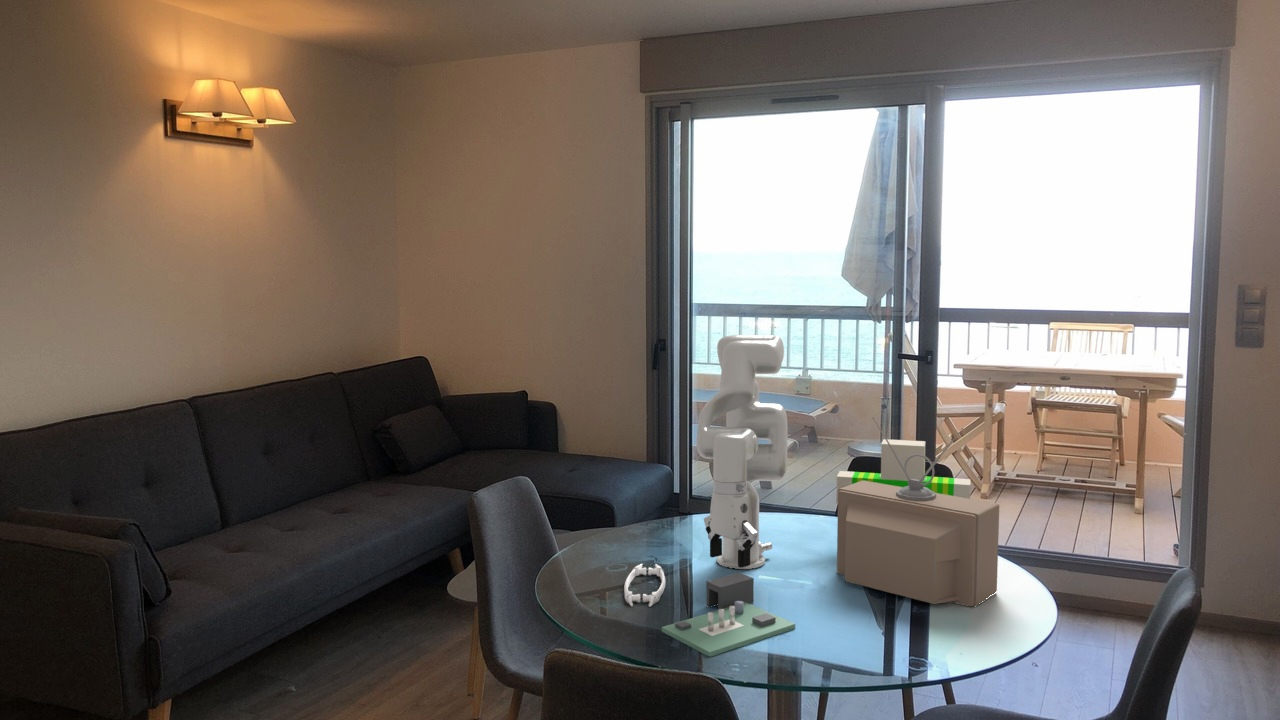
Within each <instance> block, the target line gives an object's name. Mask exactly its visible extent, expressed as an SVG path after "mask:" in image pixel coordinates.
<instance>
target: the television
mask: <svg viewBox="0 0 1280 720" xmlns="http://www.w3.org/2000/svg"><path fill="white" fill-rule="evenodd" d="M872 419H873V420H874V423H875V424H876V426H877V428H878V429H879V431H880V433H881V434H882V436H883V438H884V439H885V440H886V441H887V443H888V444H889V446H890V448H891V450H892V452H893V454H894V456H895V457H896V459H897V461H898V462H899V464H900V466H901V468H902V469H903V471H904V473H905V475H906V478H907V479H908V485H909V486H906V487H898V486H892V485H887V484H881V483H875V482H869V481H860V482H857V483H854V484H851V485H849V486H846V487H843V488H840V489H838V504H837V528H836V529H837V531H836V532H837V533H836V534H837V541H836V542H837V543H836V544H837V545H836V547H837V548H836V549H837V550H836V551H837V552H836V553H837V555H836V573H837V574H839V575H843V576H844V581H845V582H846V583H851V584H855V585H859V586H864V587H867V588H871V589H875V590H877V591H878V590H879V591H883V592H886V593H890V594H894V595H898V596H902V597H905V598H909V599H912V600H916V601H921V602H925V603H928V604H933V605H937V604H944V603H954V604H957V603H958V604H959V605H961V604H963V605H962V606H965V605H966V607H969V606H977V605H978V604H979V603H981V602H982V601H984V600H986V598H988V597H989V596H990V595H992V594H994V593H995V592H996V591H997V592H998V589H997V587H998V566H999V562H998V561H999V559H998V558H999V533H1000V531H999V529H1000V528H999V527H1000V504H999V503H995V502H990V501H984V500H980V499H979V500H978V499H972V498H970V499H968V498H962V497H956V496H950V495H945V494H939V493H935V492H933V491H931V490H930V489H928V488H926V487H923V486H925V485H928V484H929V483H930V482H931V481H932V480H933V478H934V477H935V467H934V466H935V465H936V464H937V463H938V461H939V460H940V459H941V457H942V456H943V454H944V453H945V452H946V451H947V450H948V449H949V447H950V446H951V445H952V443H953V442H954V441H955V440H956V438H957V437H958V436H959V435H960V433H961V432H962V431H963V430H964V428H963V427H962V428H961V429H960V431H959V432H958V433H957V434H956V435H955V436H954V437H953V438H952V439H951V440H950V442H948V445H947V446H946V447H945V448H944V449H943V450H942V452H941V453H940V454H939V455H938V456H937V457H936V458H935V460H934V461H933V462H932V461H931V459H930V458H929V457H927V456H926V455H925V456H924V455H921V454H914V455H911V456H910V457H909V458H907V460H906V462H905V464H904V466H903V465H902V463H901V461H900V459H899V458H898V456H897V454H896V452H895V451H894V449H893V448H892V447H891V445H890V443H889V442H888V440H887V439H888V438H887V437H886V435H885V433H884V432H883V431H882V428H881V427H880V426H879V424H878V423H877V422H876V420H875V417H874V416H873V417H872ZM915 456H920V457H923V458H925V461H927V462H928V463H929V464H930V466H929V468H928V469H927V470H925V474H924V475H923V477H922V478H921V479H920V480H916V479H911V478H910V477H909V475H908V473H907V471H906V465H907V462H908V461H909V460H910V459H911V458H912V457H915ZM931 471H932V472H931ZM930 472H931V476H930V477H931V479H930V480H929V481H928V482H927V483H925V484H923V483H922V481H923V479H924V478H925V477H926V476H928V475H929V473H930ZM986 601H987V600H986ZM984 602H985V601H984ZM958 604H957V605H958ZM981 604H982V603H981ZM978 606H979V605H978ZM978 606H977V607H978Z"/></svg>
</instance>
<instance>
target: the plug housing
mask: <svg viewBox="0 0 1280 720" xmlns="http://www.w3.org/2000/svg"><path fill="white" fill-rule="evenodd" d="M705 585H706V590H705V591H706V593H705V595H706V600H705V601H706V603H705V604H706V606H705V607H707V606H708V607H707V608H711V606H712V607H715V606H714V605H716V606H717V610H719V609H724V608H727V607H729V606H731V605H733V606H734V602H735V601H742V602H746V603H748V604H750V603H752V604H754V603H753V602H754V601H755V600H754V597H755V596H754V594H755V593H754V589H755V588H754V587H755V586H754V585H755V584H754V577H752V576H749V575H747V574H745V573H743V572H736V573H732V574H729V575H724V576H720V577H718V578H714V579H709V580H707V581H706V582H705ZM717 604H718V605H717Z"/></svg>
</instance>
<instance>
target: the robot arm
mask: <svg viewBox="0 0 1280 720" xmlns="http://www.w3.org/2000/svg"><path fill="white" fill-rule="evenodd" d="M784 346H785V344H784V343H783V340H782V338H781V336H779V335H775V334H774V335H772V334H769V335H768V334H733V335H732V334H731V335H726V336H724V337H721V338H720V339H719V340H718V342H717V346H716V348H717V349H716V351H717V358H718V363H719V367H720V369H721V373H720V381H719V391H718V392H717V393H715V394H714V395H713V396H712V397H710V399H709V400H708V401H707V402H706V403H705V404H704V406H703V408H702V409H701V411H700V414H699V415H698V422H697V429H696V438H695V439H696V441H695V442H696V444H695V445H696V451H697V453H698V455H699V456H700V457H701V458H703V459H707V460H708V459H709V460H712V461H713V464H712V465H713V466H712V467H713V470H712V471H713V474H712V475H713V483H712V485H713V491H712V494H711V500H710V508H709V509H710V511H709V515H707V516H705V517H704V518H703V522H704V526H705V531H706V533H707V538H708V540H709V557H710V558H716V563H717V562H718V563H719V565H720V566H721V565H722V567H724V566H725V567H724V568H727V567H729V569H732V568H735V569H734V570H751V569H752V568H753V569H757V568H760V567H762V566H763V565H765V562H766V559H765V558H766V557H765V556H764V555H763V554H764V552H765V551H771V550H772V549H773V544H772V543H771V542H770V541H769V542H765V543H762V542H761V541H760V497H759V494H758V492H757V490H756V488H755V487H754V486H753V484H752V483H751V482H750V481H753V482H754V481H755V482H756V481H758V482H760V481H761V482H763V481H764V482H778V481H782V480H784V478H785V476H787V475H786V474H787V470H788V415H787V412H786V409H785V408H784V407H783V406H782V405H781V404H779V403H773V402H771V403H770V402H768V403H767V402H760V385H759V383H758V381H757V379H756V375H777V374H778V373H779V371H780V370H781V369H782V363H783V360H784V356H785V347H784ZM725 414H726V416H725V417H726V419H725V423H726V424H725V426H712V423H714V421H715V420H717V419H718V418H720V417H721V416H723V415H725ZM759 440H766V441H768V442H769V443H759Z"/></svg>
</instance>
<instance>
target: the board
mask: <svg viewBox="0 0 1280 720" xmlns="http://www.w3.org/2000/svg"><path fill="white" fill-rule="evenodd" d="M734 606H735V625H730V624H729V607H727V608H724V628H719V610H718V609H717V610H715V611H712V612H713V613H714V631H713V632H709V631H708V612H707V613H705V614H700V615H698V616H695V617H690V618H689V619H688V618H687V619H684V620H682V621H677V622H675V623H672V624H671V623H670V624H667V625H665V626H662V627H661V632H662V633H664V634H665V635H667V636H670V637H672V638H673V639H674V640H677V641H678V642H681V643H682V644H685V645H687V646H688V647H690V648H692V649H694V650H695V651H698V652H699V653H702V654H703V655H705V656H708V657H709V658H710V657H714V656H716V655H720V654H722V653H725V652H729V651H732V650H734V649H737V648H740V647H744V646H746V645H749V644H752V643H755V642H758V641H759V642H760V641H762V640H764V639H767V638H771V637H774V636H776V635H779V634H783V633H786V632H789V631H791V630H795V629H796V623H794V622H793V621H789V620H788V619H785V618H783V617H781V616H778V615H776V614H774V613H771V612H769V611H767V610H764V609H762V608H761V607H757V606H755V605H753V604H748V603H746V602H742V601H735V602H734Z"/></svg>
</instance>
